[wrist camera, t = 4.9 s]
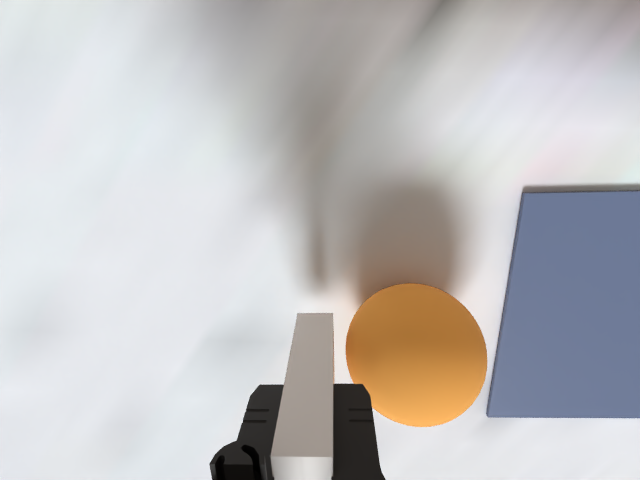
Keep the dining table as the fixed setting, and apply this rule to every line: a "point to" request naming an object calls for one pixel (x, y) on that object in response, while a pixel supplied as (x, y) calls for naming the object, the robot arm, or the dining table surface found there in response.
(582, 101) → the dining table surface
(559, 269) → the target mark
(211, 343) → the dining table surface
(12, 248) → the dining table surface
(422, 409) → the ball
